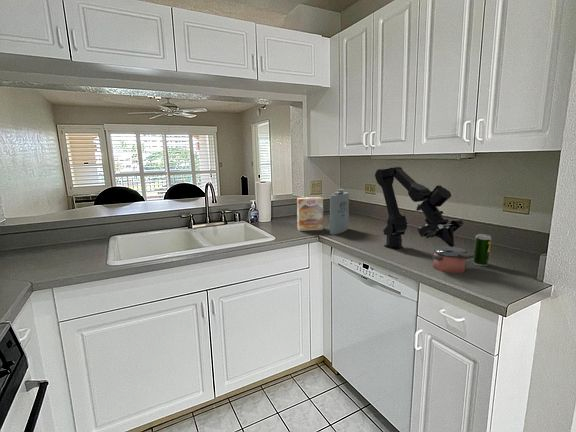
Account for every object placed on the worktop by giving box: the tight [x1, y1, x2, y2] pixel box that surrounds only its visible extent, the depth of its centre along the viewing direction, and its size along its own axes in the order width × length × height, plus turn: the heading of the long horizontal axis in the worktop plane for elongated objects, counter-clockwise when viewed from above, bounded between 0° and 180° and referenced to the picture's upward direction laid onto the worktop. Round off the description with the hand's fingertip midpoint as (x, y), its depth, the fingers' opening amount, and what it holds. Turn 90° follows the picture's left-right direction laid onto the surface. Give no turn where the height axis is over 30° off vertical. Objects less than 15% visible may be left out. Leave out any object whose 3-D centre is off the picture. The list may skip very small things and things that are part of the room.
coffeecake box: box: [296, 196, 324, 232], centre depth 189 cm, size 15×7×20 cm, turn 97°
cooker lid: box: [433, 245, 474, 260], centre depth 119 cm, size 14×11×1 cm
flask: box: [329, 188, 350, 235], centre depth 181 cm, size 17×5×25 cm, turn 141°
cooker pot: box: [431, 251, 467, 274], centre depth 122 cm, size 12×15×6 cm
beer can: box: [472, 233, 492, 267], centre depth 124 cm, size 5×5×12 cm
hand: (452, 246), depth 119 cm, fingers closed
